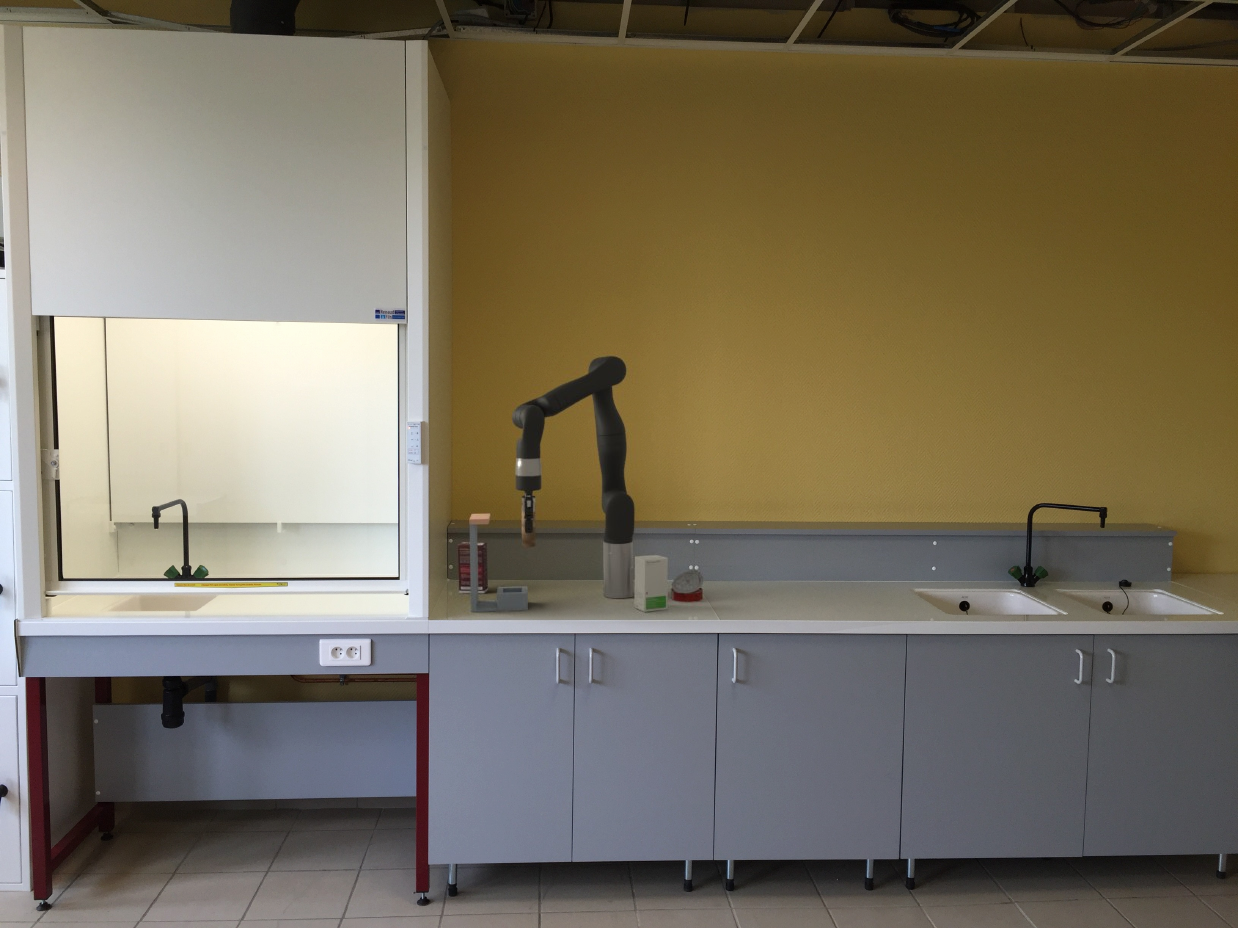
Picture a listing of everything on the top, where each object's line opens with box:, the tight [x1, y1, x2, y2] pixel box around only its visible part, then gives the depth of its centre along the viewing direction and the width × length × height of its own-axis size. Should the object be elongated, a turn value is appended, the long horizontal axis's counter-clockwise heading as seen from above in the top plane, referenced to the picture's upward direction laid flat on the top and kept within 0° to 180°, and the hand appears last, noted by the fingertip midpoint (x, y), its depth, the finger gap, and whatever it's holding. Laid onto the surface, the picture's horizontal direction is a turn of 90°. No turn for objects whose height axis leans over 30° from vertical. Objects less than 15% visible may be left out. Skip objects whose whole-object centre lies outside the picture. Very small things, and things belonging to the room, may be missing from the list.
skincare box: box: [634, 554, 669, 613], centre depth 244 cm, size 8×7×16 cm
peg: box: [521, 504, 536, 548], centre depth 241 cm, size 4×4×12 cm
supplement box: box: [457, 541, 489, 594], centre depth 265 cm, size 9×5×16 cm, turn 84°
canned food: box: [670, 569, 704, 603], centre depth 257 cm, size 11×10×10 cm
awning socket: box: [468, 513, 529, 613], centre depth 246 cm, size 16×11×28 cm, turn 96°
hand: (528, 531), depth 241 cm, fingers closed on peg, 4 cm apart
